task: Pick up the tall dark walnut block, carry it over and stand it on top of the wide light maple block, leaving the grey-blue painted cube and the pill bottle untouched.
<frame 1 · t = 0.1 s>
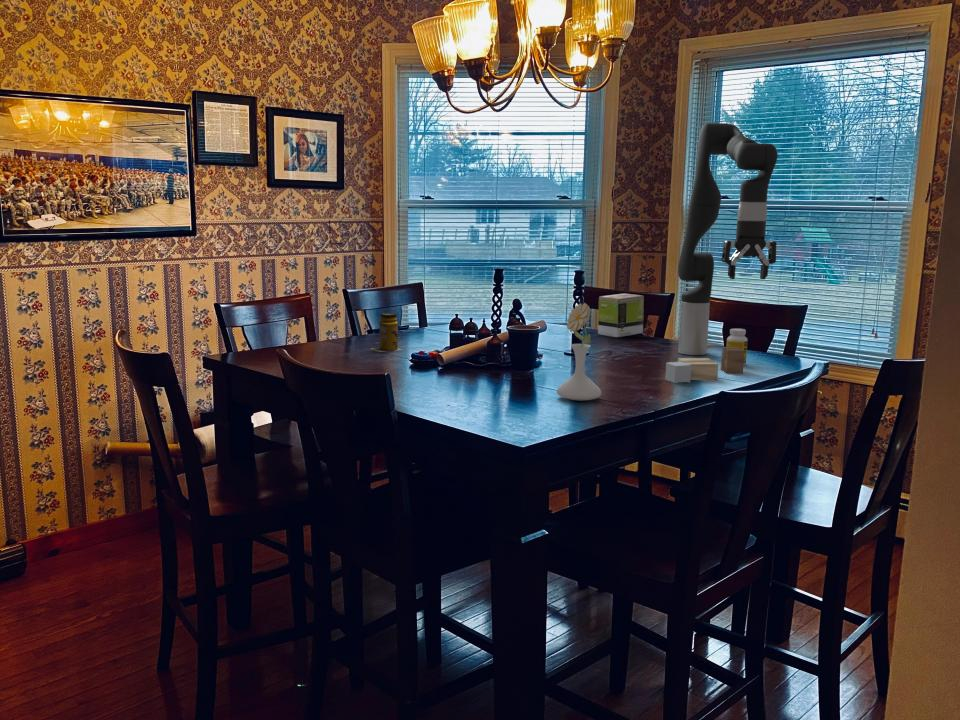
hand: (747, 279, 230), 29 cm above the table, fingers open, 8 cm apart
walnut block: (731, 371, 250), on the table
tea box: (620, 334, 317), on the table
pill bottle: (735, 365, 261), on the table
maple block: (696, 378, 242), on the table
flower in vase: (579, 400, 213), on the table
condiment: (386, 350, 279), on the table
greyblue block: (677, 381, 237), on the table
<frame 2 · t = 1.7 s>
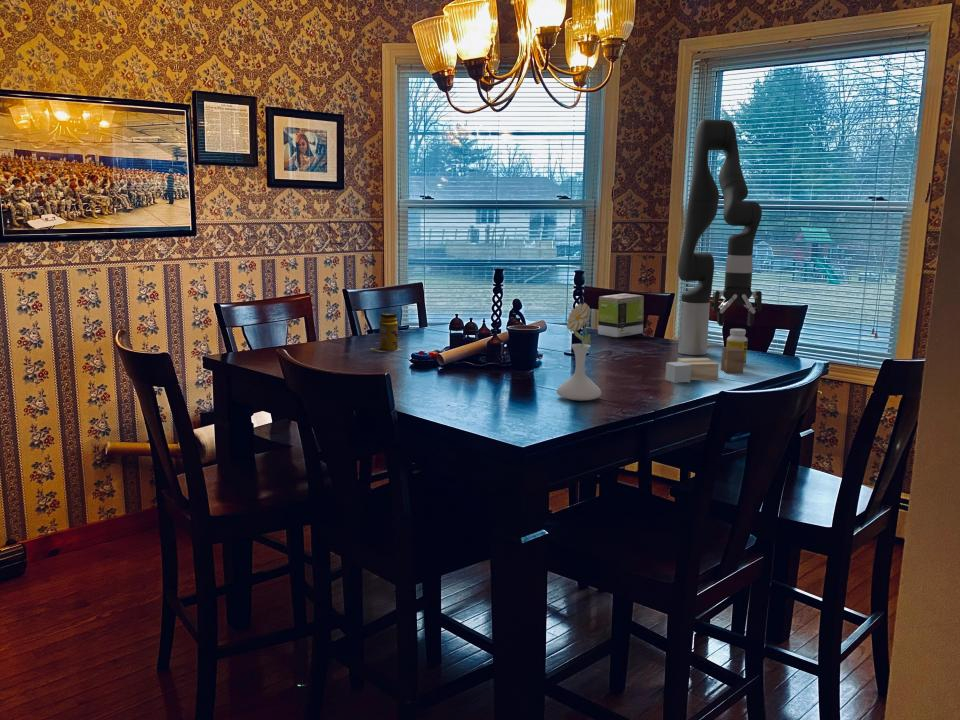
hand: (735, 325, 248), 14 cm above the table, fingers open, 8 cm apart
nothing on the table moved.
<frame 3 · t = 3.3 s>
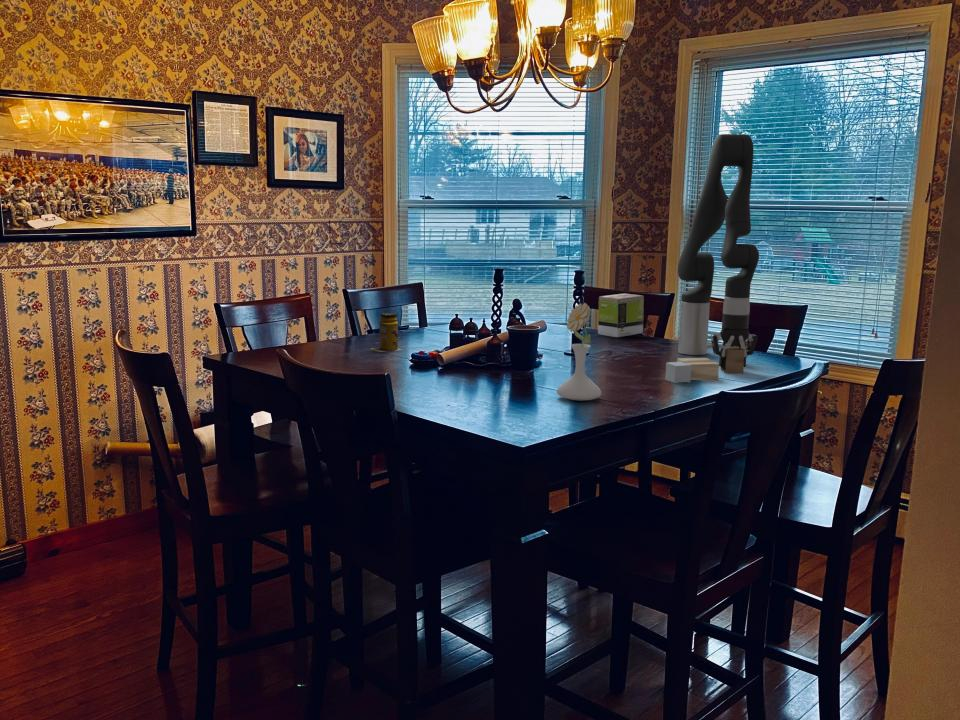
hand: (731, 368, 250), 1 cm above the table, fingers closed on walnut block, 5 cm apart
walnut block: (731, 371, 250), on the table, touching gripper
everything else where it was.
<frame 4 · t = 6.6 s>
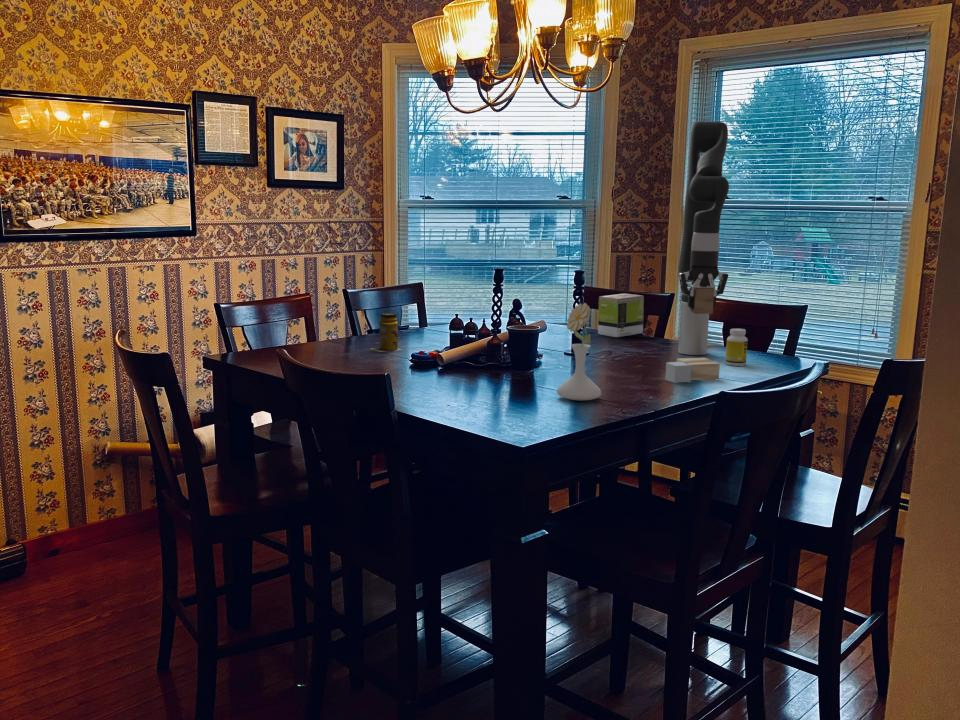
hand: (701, 309, 238), 20 cm above the table, fingers closed on walnut block, 5 cm apart
walnut block: (701, 312, 238), point 19 cm above the table, touching gripper
everything else where it was.
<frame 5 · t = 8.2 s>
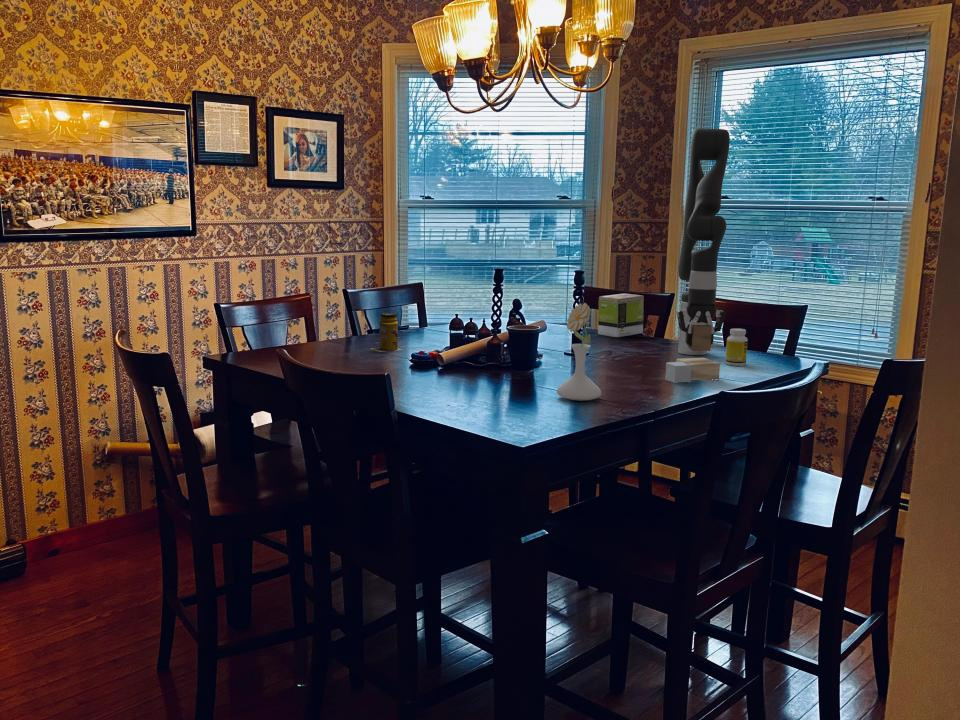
hand: (698, 345, 240), 9 cm above the table, fingers closed on walnut block, 5 cm apart
walnut block: (698, 349, 240), point 8 cm above the table, touching gripper
everything else where it was.
when the fingers open (7 cm above the table, at t = 9.7 s): walnut block stays where it is, resting on maple block.
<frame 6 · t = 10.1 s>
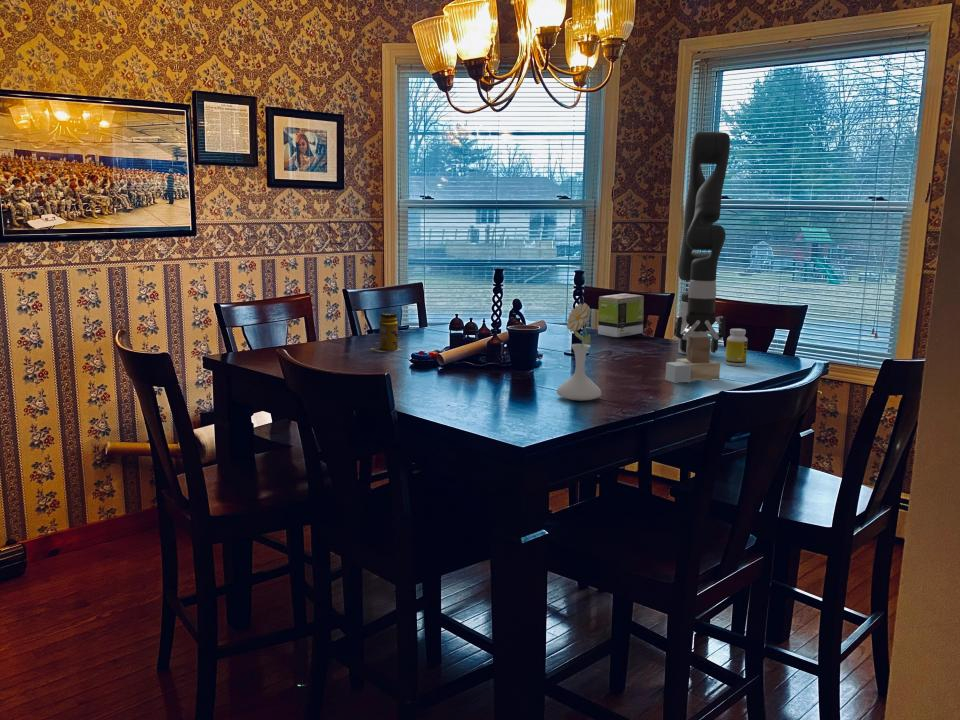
hand: (698, 352, 241), 7 cm above the table, fingers open, 8 cm apart
walnut block: (697, 361, 241), point 5 cm above the table, touching maple block
maple block: (696, 378, 242), on the table, touching walnut block
everything else where it was.
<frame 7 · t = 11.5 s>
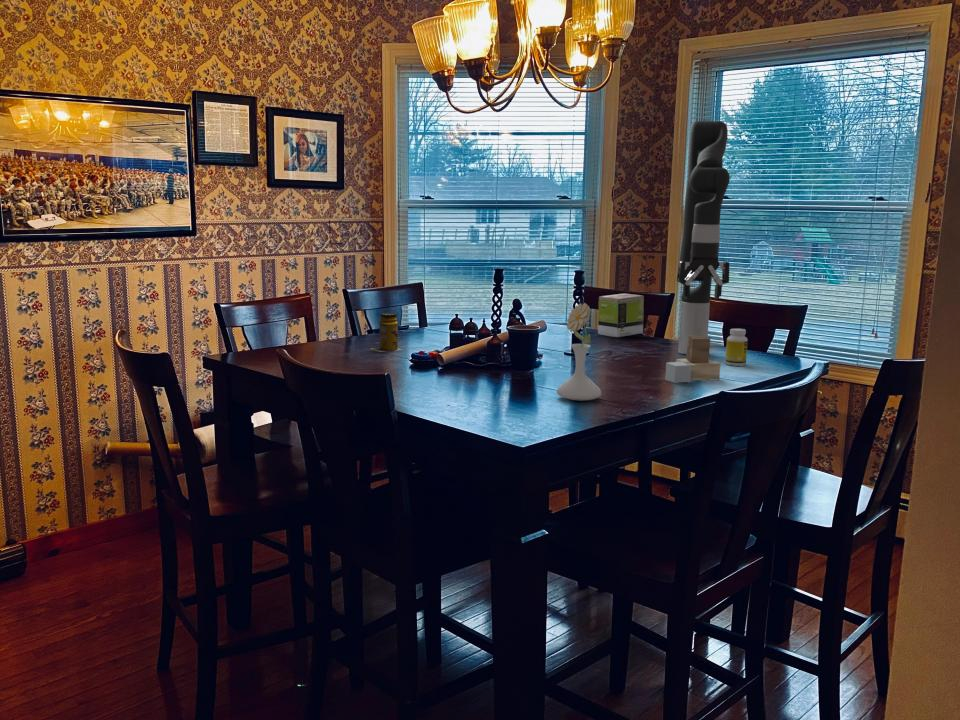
hand: (701, 298, 237), 23 cm above the table, fingers open, 8 cm apart
walnut block: (697, 361, 241), point 5 cm above the table
maple block: (696, 378, 242), on the table
everything else where it was.
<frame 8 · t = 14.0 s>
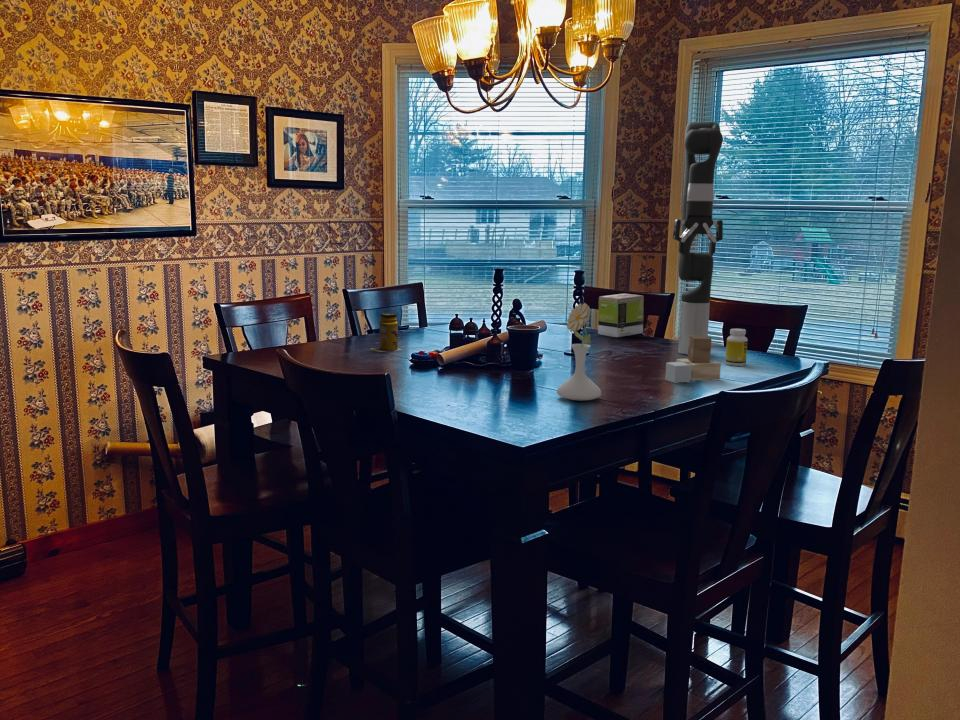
hand: (696, 255, 249), 34 cm above the table, fingers open, 8 cm apart
walnut block: (698, 361, 241), point 5 cm above the table, touching maple block
maple block: (697, 378, 242), on the table, touching walnut block
everything else where it was.
at the end: walnut block 0.1 cm off-centre on the maple block, point 5.0 cm above the maple block's base; walnut block tilted 1°; the gripper is holding nothing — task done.
